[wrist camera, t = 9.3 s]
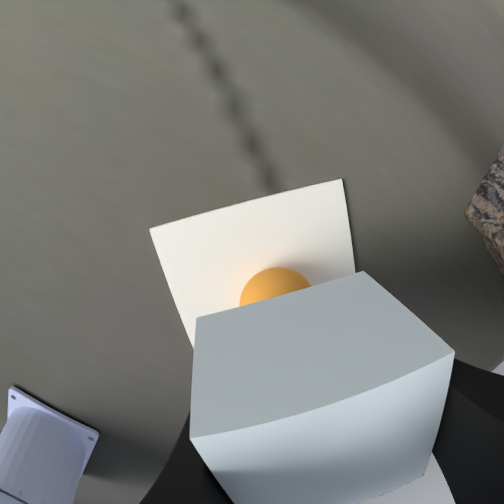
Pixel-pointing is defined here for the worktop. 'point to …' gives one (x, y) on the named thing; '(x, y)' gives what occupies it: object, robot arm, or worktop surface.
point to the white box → (317, 395)
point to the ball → (272, 285)
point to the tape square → (254, 247)
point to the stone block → (490, 210)
